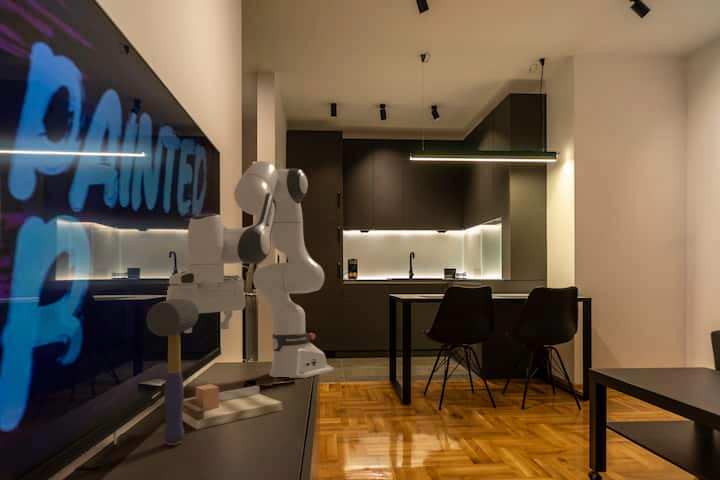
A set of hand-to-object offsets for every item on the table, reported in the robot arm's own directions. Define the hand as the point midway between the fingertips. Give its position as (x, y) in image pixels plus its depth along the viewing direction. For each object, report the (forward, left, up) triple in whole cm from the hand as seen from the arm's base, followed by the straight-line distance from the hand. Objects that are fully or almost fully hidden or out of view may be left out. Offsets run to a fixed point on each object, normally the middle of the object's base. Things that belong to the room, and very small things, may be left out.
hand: (206, 330), depth 122 cm
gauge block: (0, 0, -19) cm, 19 cm away
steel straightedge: (-5, -4, -19) cm, 20 cm away
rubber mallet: (+13, +16, -21) cm, 29 cm away
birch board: (-5, +3, -21) cm, 22 cm away
